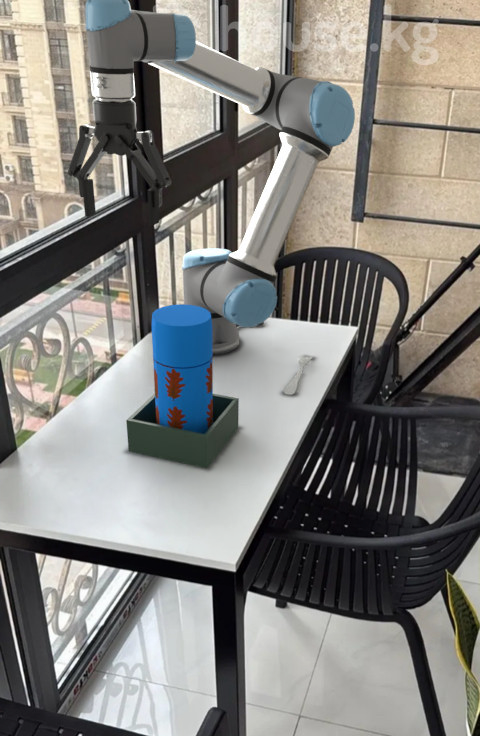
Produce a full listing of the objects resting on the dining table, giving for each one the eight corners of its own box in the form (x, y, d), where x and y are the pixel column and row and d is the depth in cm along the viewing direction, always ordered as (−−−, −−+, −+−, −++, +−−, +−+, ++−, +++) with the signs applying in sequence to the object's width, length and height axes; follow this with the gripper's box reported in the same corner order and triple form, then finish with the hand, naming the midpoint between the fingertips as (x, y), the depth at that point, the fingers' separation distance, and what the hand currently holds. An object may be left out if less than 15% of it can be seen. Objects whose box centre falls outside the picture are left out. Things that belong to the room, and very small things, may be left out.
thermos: (203, 454, 142) (201, 330, 129) (148, 445, 144) (141, 322, 130) (219, 426, 151) (219, 308, 138) (168, 418, 153) (163, 301, 140)
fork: (282, 402, 168) (282, 392, 166) (303, 356, 184) (304, 346, 182) (294, 404, 167) (294, 394, 166) (315, 358, 183) (315, 348, 182)
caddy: (165, 413, 156) (164, 384, 153) (238, 428, 153) (238, 398, 149) (128, 451, 143) (126, 420, 139) (207, 468, 139) (206, 436, 136)
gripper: (40, 94, 134) (54, 215, 145) (168, 107, 128) (173, 232, 139) (63, 90, 140) (74, 207, 151) (187, 102, 134) (189, 223, 146)
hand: (122, 219), depth 145 cm, fingers open, 13 cm apart
